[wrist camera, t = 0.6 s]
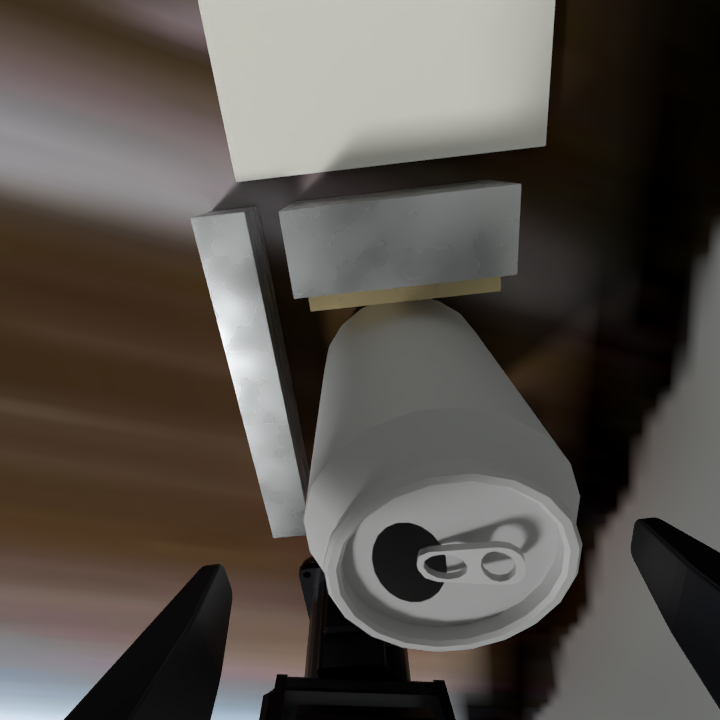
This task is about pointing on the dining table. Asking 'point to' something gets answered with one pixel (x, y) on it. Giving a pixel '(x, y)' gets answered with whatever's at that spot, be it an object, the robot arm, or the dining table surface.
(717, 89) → the dining table surface
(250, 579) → the dining table surface
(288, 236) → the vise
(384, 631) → the can
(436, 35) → the tray
